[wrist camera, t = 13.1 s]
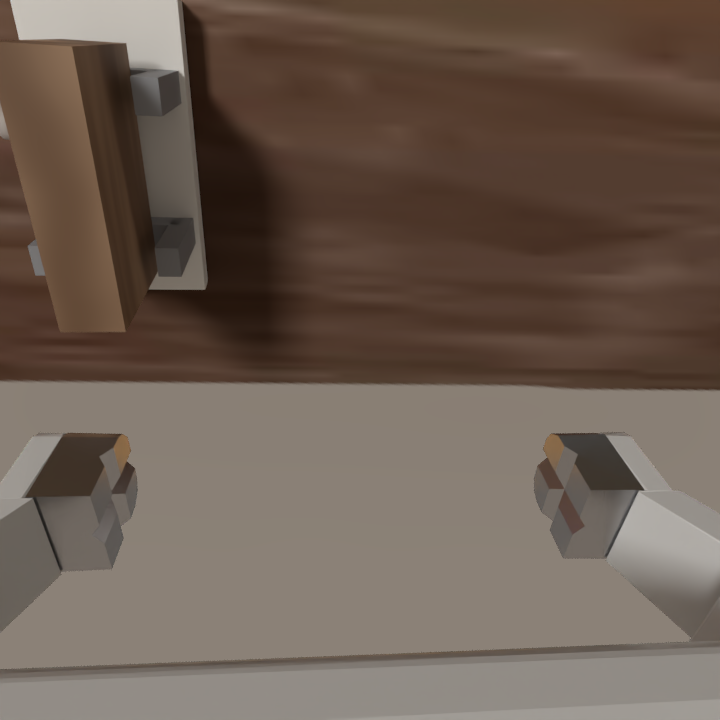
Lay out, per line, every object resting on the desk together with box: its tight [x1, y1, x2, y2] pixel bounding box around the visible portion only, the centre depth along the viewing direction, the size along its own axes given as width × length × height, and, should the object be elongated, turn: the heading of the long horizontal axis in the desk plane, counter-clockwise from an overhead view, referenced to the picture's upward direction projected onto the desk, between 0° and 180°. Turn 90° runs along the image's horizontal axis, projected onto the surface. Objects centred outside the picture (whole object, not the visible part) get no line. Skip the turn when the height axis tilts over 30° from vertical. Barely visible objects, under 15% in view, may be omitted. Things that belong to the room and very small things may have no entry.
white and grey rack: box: [10, 0, 208, 290], centre depth 29 cm, size 8×16×7 cm, turn 176°
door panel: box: [0, 39, 158, 332], centre depth 26 cm, size 4×12×8 cm, turn 177°
